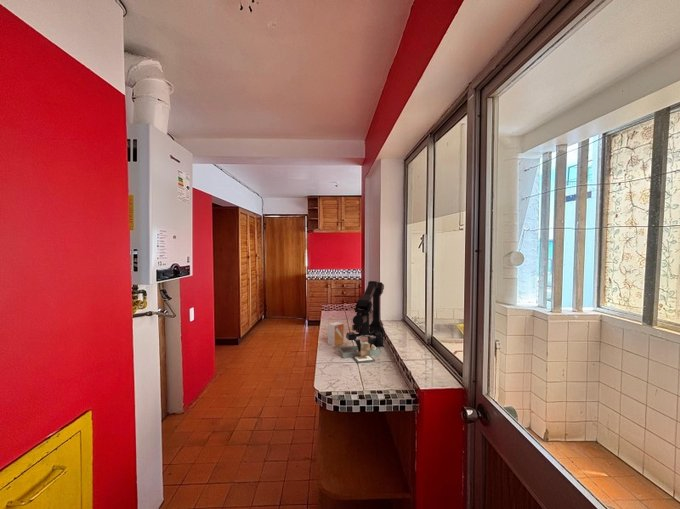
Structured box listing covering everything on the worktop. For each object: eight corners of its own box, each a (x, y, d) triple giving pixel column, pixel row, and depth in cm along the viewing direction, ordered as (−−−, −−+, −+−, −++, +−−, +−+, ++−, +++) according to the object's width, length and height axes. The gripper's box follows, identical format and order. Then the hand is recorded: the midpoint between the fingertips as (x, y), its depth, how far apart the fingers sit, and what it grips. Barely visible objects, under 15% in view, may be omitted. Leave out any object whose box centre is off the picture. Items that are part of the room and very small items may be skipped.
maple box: (371, 349, 183) (371, 343, 183) (375, 353, 176) (376, 346, 176) (363, 350, 181) (363, 343, 181) (367, 354, 175) (367, 347, 174)
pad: (369, 356, 171) (369, 355, 171) (375, 361, 163) (375, 359, 163) (352, 358, 168) (352, 356, 168) (357, 363, 160) (357, 361, 160)
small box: (334, 346, 188) (334, 325, 188) (327, 344, 193) (327, 323, 192) (343, 343, 194) (344, 323, 193) (337, 341, 198) (337, 321, 198)
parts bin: (372, 348, 185) (372, 344, 185) (379, 354, 175) (379, 349, 175) (337, 351, 179) (337, 347, 179) (343, 357, 168) (343, 353, 168)
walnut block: (366, 351, 168) (366, 340, 168) (369, 354, 164) (370, 343, 164) (357, 352, 167) (358, 341, 167) (361, 355, 162) (361, 344, 162)
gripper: (374, 317, 175) (374, 345, 176) (343, 319, 170) (342, 347, 170) (382, 322, 165) (382, 351, 165) (349, 324, 159) (349, 354, 160)
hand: (363, 351), depth 165 cm, fingers closed on walnut block, 5 cm apart
